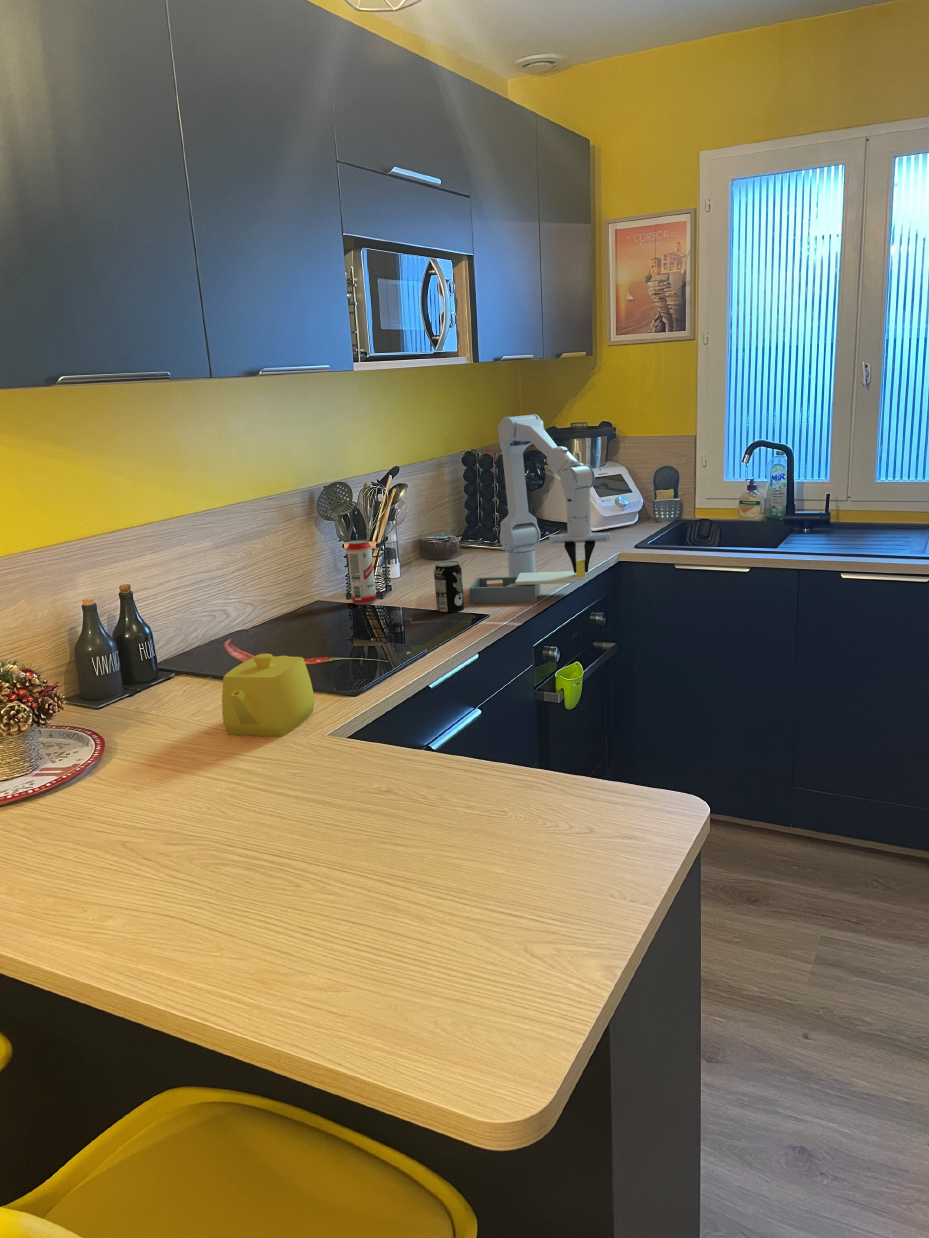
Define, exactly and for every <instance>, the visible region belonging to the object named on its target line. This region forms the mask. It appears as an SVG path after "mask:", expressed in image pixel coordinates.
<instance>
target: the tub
mask: <svg viewBox="0 0 929 1238" xmlns="http://www.w3.org/2000/svg"><path fill="white" fill-rule="evenodd" d="M517 578H518V576H517V577H509V576H496V577H495V576H493V577H492V576H491V577H490V576H489V577H486V576H485V577H476V578H475V580H474V581H473V582H472V584H471V585H470V586H469V588H468V589H469V603H470V605H485V604H486V605H487V604H488V605H489V604H494V605H495V604H521V603H523V604H524V603H526V604H528V603H530V604H531V603H536V602H537V600H538V598H539V595H540V592H541V584H529V585H527V586H509V587H506V586H508V585H510V584H511V583H515V581H516V579H517ZM488 580H502V581H503V587H487V581H488Z"/></svg>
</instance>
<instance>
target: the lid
mask: <svg viewBox="0 0 929 1238" xmlns="http://www.w3.org/2000/svg"><path fill="white" fill-rule="evenodd" d="M576 572H577V573H574V570H573V571H572V570H570V571H567V570H566V571H540V572H537V571H535V572H534V573H520V574H519V576H518V578H517V579H516V581H515V585H529V584H540V585H551V584H552V585H555V584H557V585H559V584H562V585H563V584H574V582H575V581H585V580H586V577H587V574H586V573H585V558H584V559H576Z"/></svg>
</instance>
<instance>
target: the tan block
mask: <svg viewBox="0 0 929 1238" xmlns="http://www.w3.org/2000/svg"><path fill="white" fill-rule="evenodd" d="M487 587H503V581H502V580H488V581H487Z"/></svg>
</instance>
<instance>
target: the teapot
mask: <svg viewBox="0 0 929 1238" xmlns="http://www.w3.org/2000/svg"><path fill="white" fill-rule="evenodd" d="M314 706H315V696H314V690H313V685H312V681H311V676H310V674H309V671H308V668H307V664H306V662H305V659H304V658H303V657H302V656H289V655H279V656H278V655H277V656H274V655H273V654H271V653H259V654H257V655H256V654H255V656H253V657H251V658H249V659H247V660H245V661H244V662H241V663H240V664H238V665H237V666H235V667H234V668H232V669H231V670H229V671H228V672H227V673H226V674H225V675H224V676H223V679H222V693H221V711H222V721H223V726H224V729H225V730H226V733H227V734H228V735H230V736H241V737H264V738H265V737H268V738H269V737H277V738H279V737H284V736H286V735H288V734H289V733H291V732H292V731H294V730H295V729H296V728H298V727H299V726H300V725H302V724H303V723H305V721H307V719H308V718H309V717H310V716H311V715H312V713H313V712H314Z"/></svg>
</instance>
